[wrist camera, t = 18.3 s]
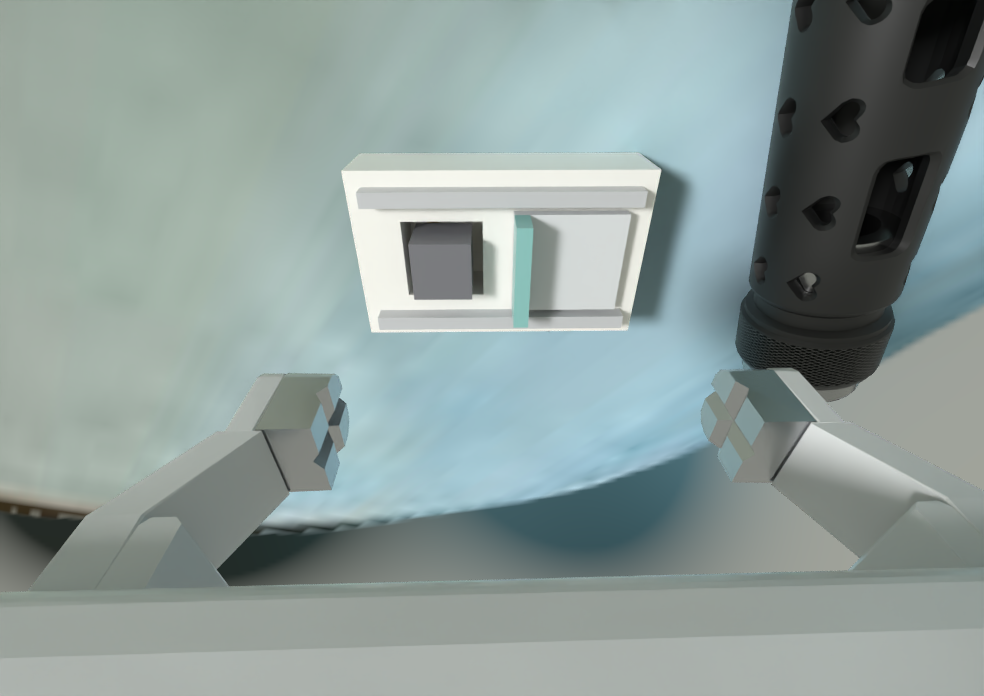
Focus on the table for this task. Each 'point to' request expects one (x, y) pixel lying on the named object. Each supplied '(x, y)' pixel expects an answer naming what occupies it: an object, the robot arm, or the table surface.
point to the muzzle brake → (854, 178)
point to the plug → (442, 261)
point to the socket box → (487, 229)
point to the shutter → (566, 260)
